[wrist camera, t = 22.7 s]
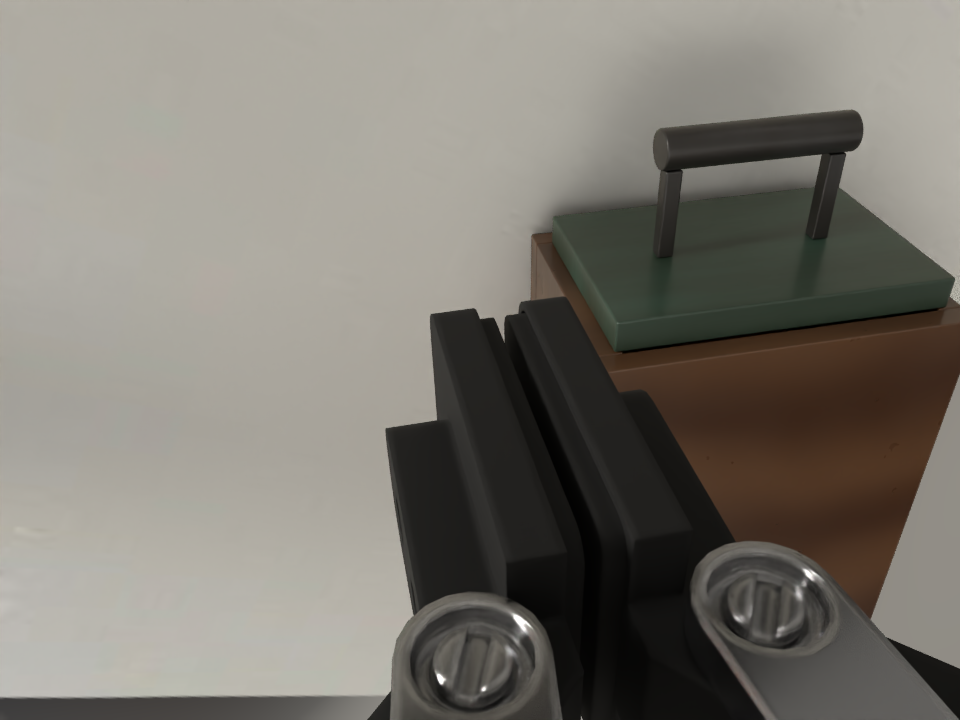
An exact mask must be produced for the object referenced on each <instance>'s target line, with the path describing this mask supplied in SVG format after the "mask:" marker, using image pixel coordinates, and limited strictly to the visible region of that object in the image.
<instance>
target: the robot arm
mask: <svg viewBox="0 0 960 720" xmlns="http://www.w3.org/2000/svg"><path fill="white" fill-rule="evenodd" d="M430 330H431V343H432V356H433V369H434V382H435V396H436V409H437V421H431V422H424V423H418V424H411V425H405V426H398V427H392V428H386V441H387V450H388V458H389V466H390V474H391V482H392V489H393V496H394V503H395V510H396V517H397V523H398V529H399V535H400V541H401V547H402V553H403V558H404V564H405V570H406V575H407V581H408V587H409V593H410V598H411V604H412V610H413V615H414V616H413V617H412V618H411V619H410V620H408V622H407V623H406V625H405V627H404V628H403V630H402V632H401V633H400V635H399V637H398V638H397V640H396V645H395V650H394V654H393V659H392V679H391V692H390V693H389V694H388V695H387V697H386V698H385V699H384V700H383V702H382V703H381V704H380V705H379V706H378V708H377V709H376V710H375V711H374V712H373V714H372V715H371V716H370V717H369V718H368V720H581V716H582V719H583V720H960V669H959V668H957V667H954V666H952V665H950V664H947V663H945V662H943V661H940V660H938V659H936V658H933V657H931V656H929V655H926V654H923V653H922V652H919V651H917V650H914V649H912V648H910V647H907V646H905V645H903V644H900V643H898V642H896V641H893V640H891V639H889V638H887V637H885V636H884V634H883V633H882V632H881V631H880V630H879V629H878V628H877V627H876V625H875V624H874V623H873V622H872V621H871V620H870V619H869V618H868V616H867V615H866V614H865V613H864V612H863V611H862V610H861V609H860V607H859V606H858V605H857V604H856V603H855V602H854V601H853V600H852V598H851V597H850V596H849V595H848V594H847V593H846V592H845V591H844V589H843V588H842V587H841V586H840V585H839V584H838V583H837V582H836V580H835V579H834V578H833V577H832V576H831V575H830V574H829V573H828V572H826V571H825V570H824V569H823V568H822V567H821V566H820V565H818V564H817V563H816V562H815V561H814V560H812V559H810V558H808V557H806V556H804V555H803V554H801V553H799V552H797V551H795V550H793V549H791V548H787V547H784V546H780V545H777V544H774V543H770V542H758V541H742V542H736V541H735V539H734V537H733V536H732V534H731V532H730V531H729V529H728V527H727V525H726V524H725V522H724V520H723V519H722V517H721V515H720V514H719V512H718V510H717V508H716V507H715V505H714V503H713V502H712V500H711V498H710V497H709V495H708V493H707V491H706V490H705V488H704V486H703V485H702V483H701V481H700V480H699V478H698V476H697V474H696V473H695V471H694V469H693V468H692V466H691V464H690V463H689V461H688V459H687V457H686V456H685V454H684V452H683V451H682V449H681V447H680V446H679V444H678V442H677V440H676V439H675V437H674V435H673V434H672V432H671V430H670V429H669V427H668V425H667V423H666V422H665V420H664V418H663V417H662V415H661V413H660V412H659V410H658V408H657V406H656V405H655V403H654V401H653V400H652V398H651V397H650V396H649V394H648V393H647V392H646V391H644V390H642V389H638V390H632V391H625V392H618V390H617V388H616V386H615V385H614V383H613V381H612V379H611V377H610V375H609V374H608V372H607V370H606V368H605V366H604V364H603V363H602V361H601V359H600V357H599V355H598V353H597V351H596V350H595V348H594V346H593V344H592V342H591V340H590V339H589V337H588V335H587V333H586V331H585V329H584V328H583V326H582V324H581V322H580V320H579V318H578V317H577V315H576V313H575V311H574V309H573V307H572V306H571V304H570V302H569V300H568V299H567V298H566V297H565V296H560V297H553V298H546V299H538V300H531V301H524V302H521V303H520V306H519V314H514V315H507V316H506V317H505V323H504V334H505V343H504V341H503V338H502V336H501V333H500V331H499V328H498V326H497V323H496V321H495V319H494V318H486V319H480V318H479V316H478V313H477V311H476V309H474V308H472V309H465V310H458V311H450V312H443V313H436V314H431V316H430Z"/></svg>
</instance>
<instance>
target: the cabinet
mask: <svg viewBox="0 0 960 720" xmlns="http://www.w3.org/2000/svg"><path fill="white" fill-rule="evenodd" d="M560 296H565V297H566V298H567V299H568V300H569V302H570V304H571V306H572V307H573V309H574V311H575V313H576V315H577V317H578V318H579V320H580V322H581V324H582V326H583V328H584V329H585V331H586V333H587V335H588V337H589V339H590V340H591V342H592V344H593V346H594V348H595V350H596V351H597V353H598V355H599V357H600V359H601V361H602V363H603V364H604V366H605V368H606V370H607V372H608V374H609V375H610V377H611V379H612V381H613V383H614V385H615V386H616V388H617V390H618V392H625V391H632V390H638V389H642V390H644V391H646V392H647V393H648V394H649V396H650V397H651V398H652V400H653V401H654V403H655V405H656V406H657V408H658V410H659V412H660V413H661V415H662V417H663V418H664V420H665V422H666V423H667V425H668V427H669V429H670V430H671V432H672V434H673V435H674V437H675V439H676V440H677V442H678V444H679V446H680V447H681V449H682V451H683V452H684V454H685V456H686V457H687V459H688V461H689V463H690V464H691V466H692V468H693V469H694V471H695V473H696V474H697V476H698V478H699V480H700V481H701V483H702V485H703V486H704V488H705V490H706V491H707V493H708V495H709V497H710V498H711V500H712V502H713V503H714V505H715V507H716V508H717V510H718V512H719V514H720V515H721V517H722V519H723V520H724V522H725V524H726V525H727V527H728V529H729V531H730V532H731V534H732V536H733V537H734V539H735V541H736V542H742V541H758V542H770V543H774V544H777V545H780V546H784V547H787V548H791V549H793V550H795V551H797V552H799V553H801V554H803V555H804V556H806V557H808V558H810V559H812V560H814V561H815V562H816V563H817V564H818V565H820V566H821V567H822V568H823V569H824V570H825V571H826V572H828V573H829V574H830V575H831V576H832V577H833V578H834V579H835V580H836V582H837V583H838V584H839V585H840V586H841V587H842V588H843V589H844V591H845V592H846V593H847V594H848V595H849V596H850V597H851V598H852V600H853V601H854V602H855V603H856V604H857V605H858V606H859V607H860V609H861V610H862V611H863V612H864V613H865V614H866V615H867V616H868V618H869V619H870V620H871V617H872V614H873V611H874V608H875V606H876V603H877V600H878V598H879V595H880V592H881V589H882V587H883V584H884V581H885V578H886V576H887V573H888V570H889V567H890V565H891V562H892V559H893V556H894V554H895V551H896V548H897V545H898V543H899V540H900V537H901V534H902V531H903V529H904V526H905V523H906V521H907V518H908V515H909V512H910V510H911V506H912V504H913V501H914V498H915V496H916V493H917V490H918V488H919V485H920V482H921V479H922V477H923V474H924V471H925V468H926V465H927V463H928V460H929V457H930V455H931V452H932V449H933V446H934V444H935V441H936V438H937V435H938V432H939V430H940V427H941V424H942V422H943V419H944V416H945V413H946V410H947V408H948V405H949V402H950V400H951V396H952V394H953V391H954V389H955V386H956V383H957V380H958V377H959V375H960V305H959V304H958V303H957V302H956V301H954V300H953V299H952V298H951V297H949V300H948V303H947V306H946V307H943V308H935V309H928V310H921V311H913V312H906V313H899V314H891V315H884V317H885V318H881V319H874V320H866V321H859V322H852V323H844V324H837V325H830V326H822V327H815V328H808V329H800V330H793V331H786V332H779V333H771V334H764V335H757V336H749V337H742V338H735V339H727V340H720V341H713V342H705V343H698V344H691V345H684V346H676V347H669V348H662V349H654V350H647V351H640V352H632V353H625V354H623V353H622V351H620V352H615V351H614V350H613V348H612V346H611V345H610V343H609V341H608V339H607V338H606V336H605V334H604V332H603V331H602V329H601V327H600V325H599V324H598V322H597V320H596V318H595V317H594V315H593V313H592V311H591V310H590V308H589V306H588V304H587V303H586V301H585V299H584V297H583V296H582V294H581V292H580V290H579V289H578V287H577V285H576V283H575V282H574V280H573V278H572V276H571V275H570V273H569V271H568V269H567V268H566V266H565V264H564V262H563V260H562V259H561V257H560V255H559V253H558V252H557V250H556V248H555V246H554V245H553V243H552V232H551V233H542V234H533V235H532V253H531V300H538V299H546V298H553V297H560Z"/></svg>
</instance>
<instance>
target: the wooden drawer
mask: <svg viewBox="0 0 960 720" xmlns="http://www.w3.org/2000/svg"><path fill="white" fill-rule="evenodd" d="M862 137H863V122H862V119H861V117H860V115H859V113H858V112H856V111H855V110H842V111H832V112H821V113H811V114H801V115H791V116H781V117H771V118H760V119H750V120H740V121H730V122H720V123H710V124H700V125H689V126H679V127H669V128H660V129H658V130H657V132H656V133H655V136H654V142H653V154H654V159H655V163H656V166H657V167H658V169H659V170H661V173H660V183H659V193H658V203H657V205H652V206H643V207H634V208H625V209H616V210H608V211H599V212H590V213H581V214H572V215H563V216H554V217H553V231H552V243H553V245H554V246H555V248H556V250H557V252H558V253H559V255H560V257H561V259H562V260H563V262H564V264H565V266H566V268H567V269H568V271H569V273H570V275H571V276H572V278H573V280H574V282H575V283H576V285H577V287H578V289H579V290H580V292H581V294H582V296H583V297H584V299H585V301H586V303H587V304H588V306H589V308H590V310H591V311H592V313H593V315H594V317H595V318H596V320H597V322H598V324H599V325H600V327H601V329H602V331H603V332H604V334H605V336H606V338H607V339H608V341H609V343H610V345H611V346H612V348H613V350H614V351H615V352H620V351H622V353H623V354H625V353H632V352H638V349H642V348H650V347H657V346H664V345H672V344H679V343H686V342H694V341H701V340H708V339H716V338H723V337H730V336H738V335H745V334H752V333H760V332H767V331H774V330H782V329H785V330H786V331H793V330H800V329H808V328H815V327H822V326H830V325H837V324H844V323H852V322H859V321H866V320H874V319H881V318H885V317H884V315H891V314H899V313H906V312H913V311H921V310H928V309H935V308H943V307H946V306H947V303H948V300H949V297H950V294H951V291H952V288H953V285H954V282H955V278H954V277H953V276H952V275H951V274H949V273H948V272H947V271H946V270H944V269H943V268H942V267H940V266H939V265H938V264H937V263H935V262H934V261H933V260H931V259H930V258H929V257H928V256H926V255H925V254H924V253H922V252H921V251H920V250H919V249H917V248H916V247H915V246H914V245H912V244H911V243H910V242H908V241H907V240H906V239H905V238H903V237H902V236H901V235H899V234H898V233H897V232H896V231H894V230H893V229H892V228H890V227H889V226H888V225H887V224H885V223H884V222H883V221H882V220H880V219H879V218H878V217H876V216H875V215H874V214H873V213H871V212H870V211H869V210H867V209H866V208H865V207H864V206H862V205H861V204H860V203H858V202H857V201H856V200H855V199H853V198H852V197H851V196H850V195H848V194H847V193H846V192H844V191H843V190H842V189H841V188H839V184H840V179H841V175H842V170H843V166H844V162H845V157H846V153H845V152H848V151H853V150H855V149H856V148H857V147H858V146H859V145H860V143H861V140H862ZM820 154H822V156H821V161H820V166H819V171H818V175H817V180H816V185H815V187H813V188H804V189H795V190H787V191H778V192H769V193H760V194H751V195H742V196H733V197H724V198H715V199H706V200H697V201H688V202H679V199H680V190H681V182H682V173H683V172H682V170H681V169H688V168H697V167H707V166H716V165H726V164H735V163H744V162H754V161H763V160H773V159H782V158H792V157H801V156H810V155H820Z"/></svg>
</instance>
